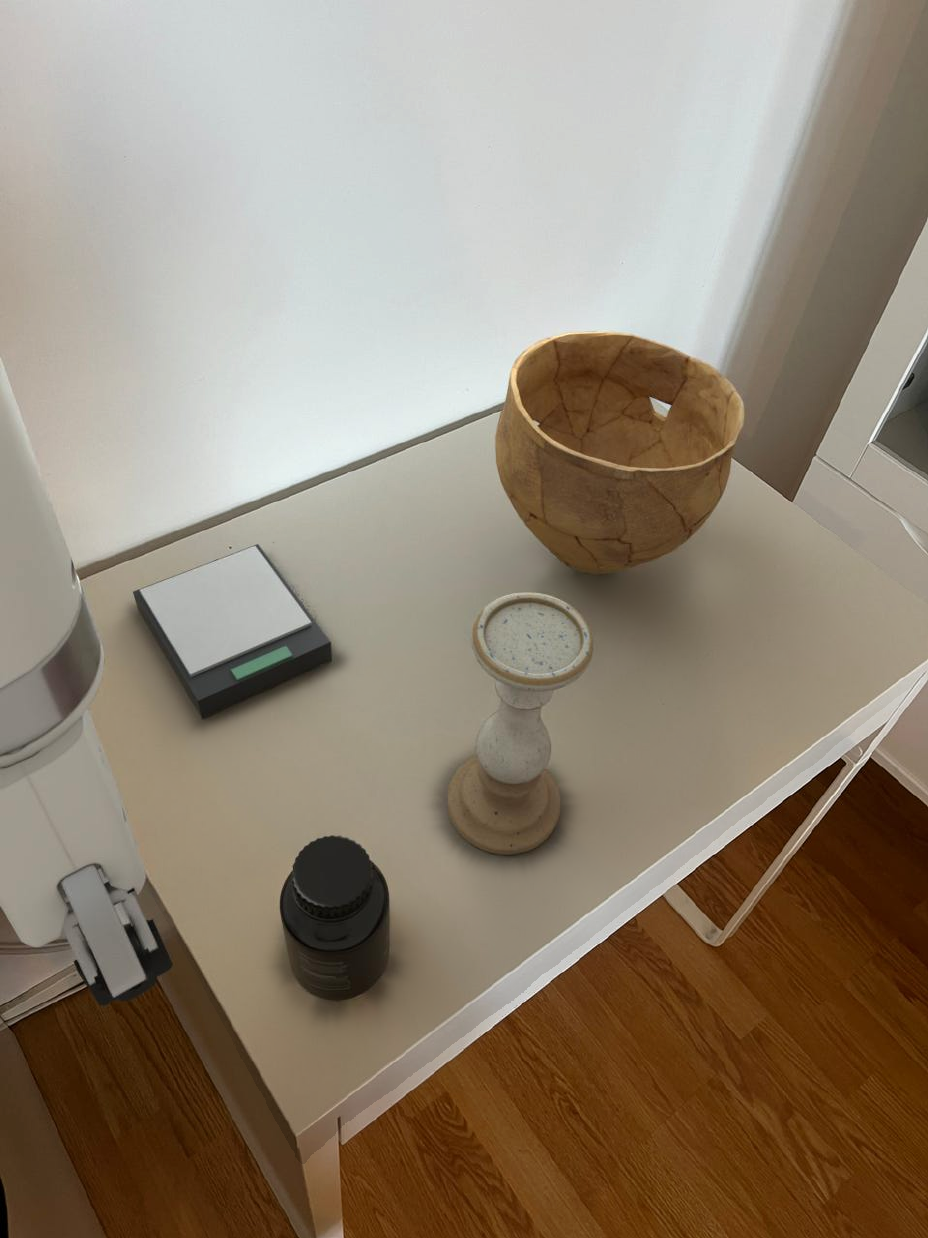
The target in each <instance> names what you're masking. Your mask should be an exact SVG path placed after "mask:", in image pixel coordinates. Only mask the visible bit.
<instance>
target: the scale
mask: <svg viewBox="0 0 928 1238" xmlns="http://www.w3.org/2000/svg"><path fill="white" fill-rule="evenodd" d="M132 595H133V597H134V601H135V604H136V608H137V611H138V612H139V614H140V616H141V618H142V619H143V621H144V623H145V624H146V626H147V628H148V631H150V633H151V634H152V635H151V636H153V638H154V640H155V642H156V643H157V645H158V647H159V649H160V650H161V652H162V653H163V655H164V657H165V658H166V660H167V662H168V663H169V665H170V668H171V669H172V671H173V672H174V673H175V675H176V677H177V679H178V680H179V682H180V684H181V686H182V688H183V689H184V691H185V692H186V694H187V696H188V697H189V699H190V701H191V702H192V704H193V706H194V707H195V710H196V711H197V713H198V714H199V716H200V718H201V719H202V720H203V719H206V718H208V717H210V716H212V715H215V714H217V713H220V712H221V711H223V710H226V709H228V708H229V707H230V708H231V707H232V706H235V705H237V704H239V703H241V702H244V701H246V700H248V699H251V698H252V697H254V696H257V695H259V694H261V693H263V692H266V691H268V690H269V689H272V688H274V687H276V686H279V685H281V684H284V683H286V682H288V681H289V680H292V679H294V678H297V677H299V676H301V675H304V674H305V673H308V672H310V671H312V670H314V669H316V668H319V667H320V666H323V665H325V664H328V663H330V662H332V661H333V655H332V641H331V640H330V639H329V638H328V636H327V635H326V633H325V632H324V631H323V630H322V629H323V628H321V627H320V625H319V624H318V622H317V621H316V620H315V619H314V617H313V616H312V614H311V613H310V612H309V610H308V609H307V608H306V606H305V605H304V604H303V602H302V601H301V600H300V598H299V597H298V595H297V594H296V593H295V592H294V590H293V589H292V587H291V586H290V585H289V583H288V582H287V581H286V579H285V578H284V577H283V575H282V574H281V572H280V571H279V570H278V568H277V567H276V565H274V563H273V562H272V560H271V558H269V557H268V555H267V553H266V552H265V551H264V550H263V548H262V547H261V545H260V544H259V543H257V544H255V545H252V546H249V547H246V548H244V549H241V550H239V551H236V552H234V553H231V554H228V555H225V556H223V557H220V558H217V559H215V560H212V561H210V562H207V563H205V564H202V565H199V566H196V567H194V568H191V569H189V570H186V571H183V572H181V573H178V574H175V575H172V576H169V577H167V578H165V579H162V580H160V581H157V582H155V583H152V584H150V585H147V586H144V587H141V588H139V589H136V590H134V591H132Z"/></svg>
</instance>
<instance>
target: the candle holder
mask: <svg viewBox="0 0 928 1238" xmlns="http://www.w3.org/2000/svg"><path fill="white" fill-rule="evenodd" d="M470 639H471V640H470V641H471V648H472V651H473V654H474V657H475V658H476V661H477V662H478V664H479V665H480V667H481V668H482V669H483V670H484V671H485V672H486V673H487V674H488V675H489V676H490V677H492V678H493V679H494V680H495V682H494V688H495V689H494V690H495V692H496V694H497V696H498V698H499V699H500V702H499V706H498V709H497V710H496V711H495V712H494V713H492V714H491V715H490V716H489V717H488V718H487V719H486V720H485V721H484V722H483V724H482V725H481V727H480V729H479V731H478V732H477V735H476V739H475V748H474V749H475V756H473V757H470V758H469V759H467V760H466V761H465V762H464V763H462V764H461V765H460V766H459V767H458V769H457V770H456V771H455V772H454V774H453V775H452V777H451V780H450V782H449V785H448V788H447V796H446V806H447V811H448V816H449V819H450V821H451V823H452V825H453V827H454V828H455V830H456V831H457V832H458V834H459V835H460V836H461V837H462V838H463V839H464V840H465V841H467V842H468V843H469V844H471V845H473V846H474V847H476V848H478V849H480V850H482V851H485V852H487V853H491V854H496V855H504V856H505V855H517V854H523V853H525V852H528V851H531V850H533V849H535V848H537V847H539V846H540V845H541V844H542V843H544V842H545V841H546V840H547V839H548V838H549V836H551V835H552V833H553V831H554V830H555V828H556V825H557V823H558V821H559V818H560V813H561V795H560V791H559V788H558V786H557V783H556V781H555V780H554V778H553V776H552V775H551V774H550V772H549V771H548V770H547V769H546V767H547V766H548V764H549V762H550V759H551V755H552V742H551V736H550V734H549V731H548V728H547V726H546V724H545V723H544V721H543V720H542V717H541V715H542V714H541V713H542V707H544V706H545V705H547V704H548V703H549V702H550V700H551V699H552V697H553V695H554V691H555V690H558V689H562V688H564V687H567V686H569V685H570V684H572V683H574V682H575V681H576V680H578V679H579V678H580V677H581V676H583V674H584V673H585V672H586V671H587V669H588V668H589V666H590V663H591V661H592V658H593V654H594V637H593V633H592V630H591V628H590V625H589V624H588V621H586V619H585V617H584V616H583V615H582V614H581V612H579V611H578V610H577V609H576V608H575V607H574V606H572V605H571V604H569V602H566V601H564V600H562V599H560V598H558V597H555V596H553V595H550V594H547V593H542V592H534V591H521V592H514V593H509V594H506V595H503V596H501V597H498V598H496V599H495V600H493V601H492V602H490V603H489V604H487V605H486V606H485V607H484V608H483V609H482V610H481V611H480V613H478V615H477V617H476V619H475V620H474V623H473V626H472V629H471V637H470Z"/></svg>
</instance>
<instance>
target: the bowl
mask: <svg viewBox="0 0 928 1238" xmlns="http://www.w3.org/2000/svg"><path fill="white" fill-rule="evenodd" d="M737 390H738V389H736V387H735V386H734V384H732V382H731V381H730V380H729V379H728V378H727V377H726V376H724V375H723V374H722V373H721V372H720V371H719V370H718V369H716V368H715V367H714V366H713V365H711V364H709V363H708V362H705V361H703V360H702V359H699V358H697V357H696V358H695V357H693V356H690V355H688V354H686V353H684V352H683V351H680V350H678V349H675V348H674V347H672V346H669V345H667V344H664V343H661V342H658V341H655V340H653V339H649V338H645V337H642V336H639V335H635V334H631V333H625V332H619V331H618V332H617V331H596V330H593V331H591V330H589V331H571V332H569V331H568V332H564V333H560V334H557V335H553V336H549V337H546V338H544V339H540V340H538V341H537V342H535V343H534V344H531V346H529V347H528V348H526V349H525V350H523V351H522V352H521V354H519V356H518V357H517V358H516V359H515V360H514V362H513V364H512V367H511V370H510V373H509V378H508V384H507V389H506V394H505V399H504V400H505V401H504V404H503V407H502V409H501V411H500V414H499V416H498V420H497V425H496V432H495V435H494V436H495V437H494V451H495V464H496V469H497V473H498V477H499V480H500V483H501V485H502V488H503V491H504V493H505V494H506V496H507V498H508V500H509V501H510V503H511V505H512V507H513V508H514V510H515V512H516V514H517V515H518V517H519V519H520V520H521V521H522V523H523V524H524V525H525V527H526V528H527V529H528V530H529V532H531V533H532V534H533V536H534V537H535V538H536V539H537V540H538V541H539V542H540V543H541V544H542V545H543V546H544V547H545V548H546V549H547V550H548V551H549V552H550V553H551V555H553V556H554V558H556V559H557V560H558V561H560V563H562V564H564V565H565V566H567V567H569V568H571V569H573V570H575V571H577V572H581V573H585V574H595V575H603V574H612V573H616V572H619V571H624V570H627V569H630V568H634V567H637V566H640V565H643V564H647V563H651V562H652V561H656V560H658V559H660V558H663V557H664V556H665V555H668V554H670V553H672V552H674V551H676V550H677V549H678V548H679V547H681V546H682V545H684V543H686V542H687V541H688V540H689V539H691V538H692V537H693V536H694V535H695V534H696V533H697V532H698V530H699V529H700V528H701V527H702V526H703V525H704V524H705V523H706V521H707V520H708V519H709V517H711V515H712V513H713V512H714V511H715V509H716V507H717V506H718V505H719V502H720V501H721V499H722V497H723V495H724V493H725V490H726V488H727V486H728V485H727V484H728V481H729V478H730V474H731V467H732V459H733V455H734V452H735V449H736V446H737V443H738V438H739V435H740V432H741V431H742V429H743V427H744V421H745V404H744V401H743V399H742V397H741V395H740V394H739V393H738V391H737ZM652 399H653V400H656V401H659V402H661V403H663V404H666V405H669V406H670V407H669V409H668V411H667V414H666V416H664V415H663V414H660V413H659V412H656V410H655V408H654V405H653V403H652ZM535 422H536V423H538V424H536V423H535Z"/></svg>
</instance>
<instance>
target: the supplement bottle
mask: <svg viewBox="0 0 928 1238" xmlns="http://www.w3.org/2000/svg"><path fill="white" fill-rule="evenodd" d="M390 900H391V899H390V891H389V885H388V882H387V880H386V877H385V875H384V874H383V872H382V871H381V869H380V868H379V866H378V865H376V864H375V863H374V861H372V860H371V859H370V854H368V853H367V850H366V848H364V847H363V846H362V845H361V844H360V843H358V842H356V840H354V839H350V838H349V837H348V836H342V835H334V834H332V835H329V836H328V835H324V836H322V837H318V838H316V839H315V840H312V841H310V842H309V843H308V844H307V845H305V846H304V847H303V849H302V850H300V851H299V852H298V855H297V856H296V857H295V858H294V863H293V864H292V870H291V871H290V873H289V874H288V875H287V877H286V879H285V880H284V883H283V885H282V887H281V890H280V896H279V914H280V920H281V924H282V930H283V935H284V939H285V940H284V941H285V945H286V951H287V956H288V961H289V965H290V969H291V971H292V973H293V975H294V978H295V980H296V981H297V982H298V984H299V985H300V986H301V987H302V988H303V989H304V990H305V991H306V992H308V993H309V994H310V995H312V996H314V997H316V998H318V999H320V1000H321V999H322V1000H324V1001H330V1002H344V1001H348V1000H353V999H356V998H357V997H359V996H362V995H363V994H365V993H367V992H368V991H369V990H370V989H372V988H373V987H374V986H375V985H376V984H377V983H378V981H379V980H380V979H381V977H382V976H383V974H384V972H385V970H386V968H387V966H388V961H389V957H390V947H391V945H390V943H391V938H390V937H391V932H390V931H391V929H390V926H391V923H390V922H391V921H390V920H391V919H390V918H391V914H390V909H391V908H390V904H391V903H390Z"/></svg>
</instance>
